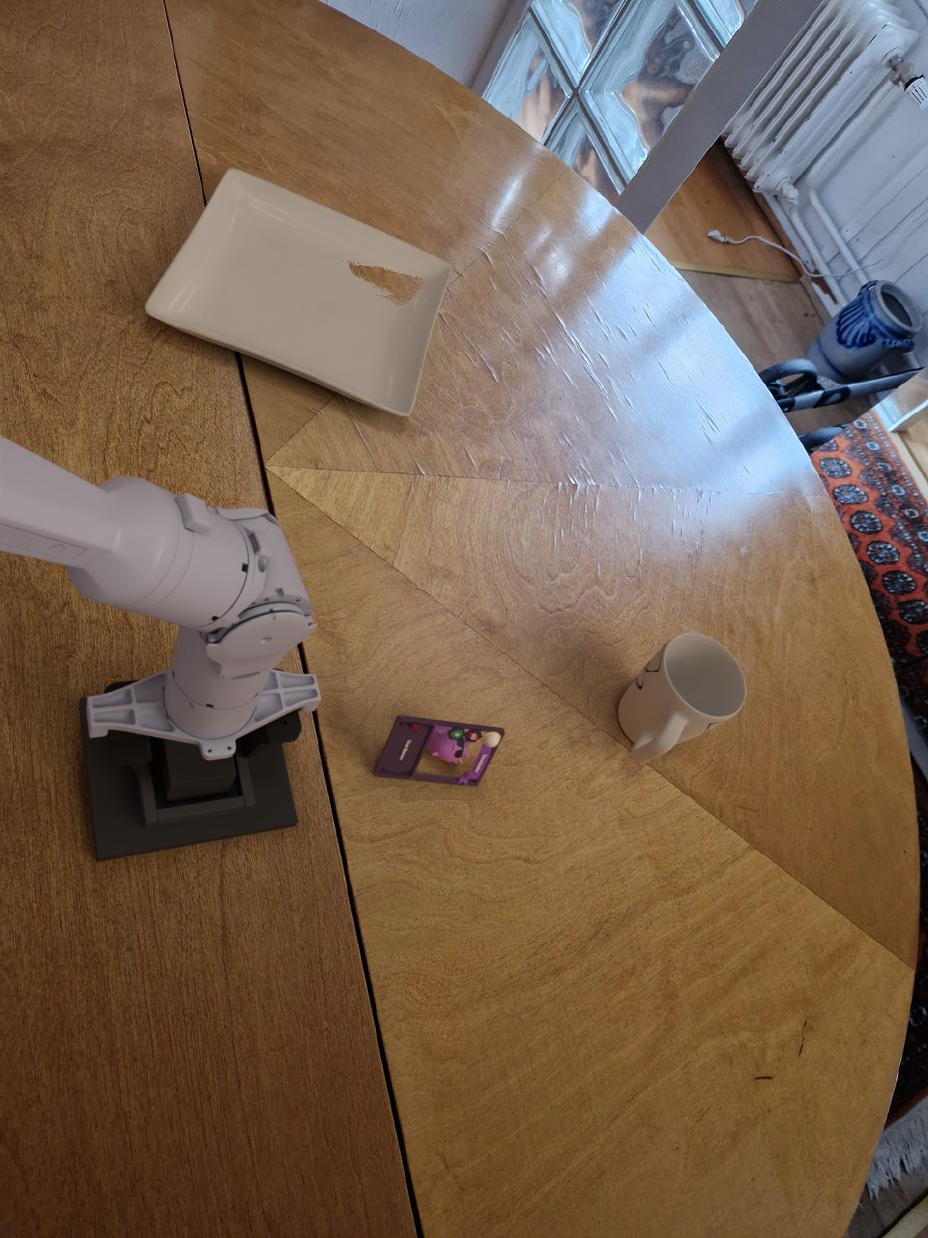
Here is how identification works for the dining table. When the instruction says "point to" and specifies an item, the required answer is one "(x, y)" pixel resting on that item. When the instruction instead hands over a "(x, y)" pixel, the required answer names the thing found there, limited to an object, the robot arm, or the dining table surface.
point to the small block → (191, 772)
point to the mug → (680, 695)
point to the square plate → (303, 292)
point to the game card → (435, 748)
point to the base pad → (144, 823)
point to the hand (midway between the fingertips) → (192, 752)
